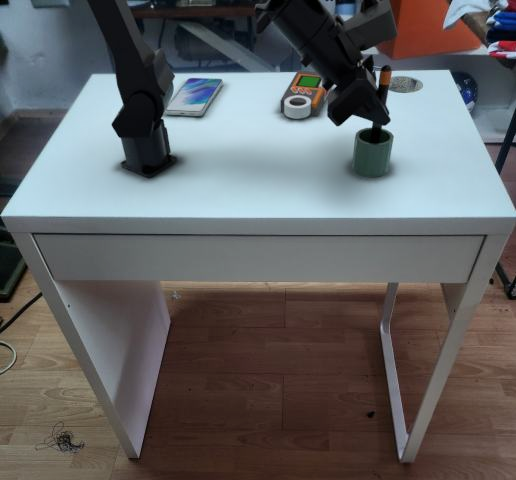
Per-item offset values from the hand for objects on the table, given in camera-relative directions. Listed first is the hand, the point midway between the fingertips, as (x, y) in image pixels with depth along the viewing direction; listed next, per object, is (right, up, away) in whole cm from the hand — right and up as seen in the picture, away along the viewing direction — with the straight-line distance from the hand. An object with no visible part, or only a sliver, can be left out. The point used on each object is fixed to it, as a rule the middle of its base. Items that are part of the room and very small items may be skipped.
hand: (387, 119), depth 71 cm
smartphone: (-30, +15, +24) cm, 41 cm away
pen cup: (-1, -5, +6) cm, 8 cm away
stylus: (-1, -4, +5) cm, 7 cm away
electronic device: (-10, +13, +22) cm, 27 cm away
